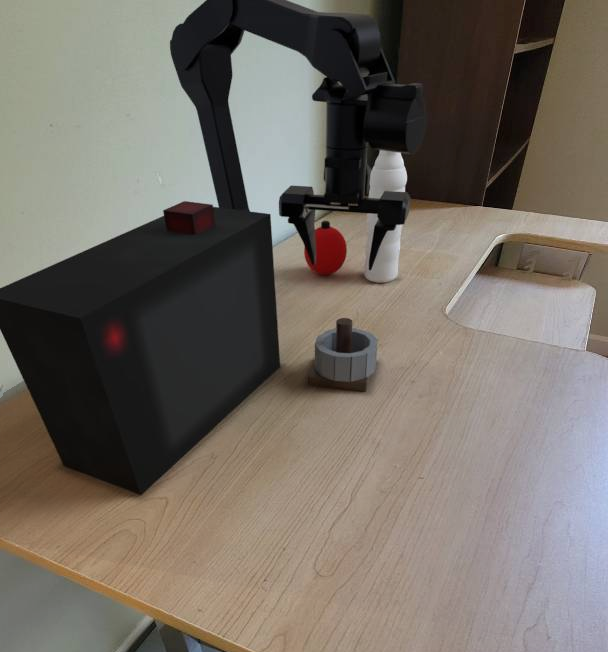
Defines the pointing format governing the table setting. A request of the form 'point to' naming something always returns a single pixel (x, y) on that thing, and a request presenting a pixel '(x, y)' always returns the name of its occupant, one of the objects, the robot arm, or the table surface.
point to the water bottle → (383, 178)
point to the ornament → (328, 250)
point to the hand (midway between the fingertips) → (341, 266)
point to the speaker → (147, 339)
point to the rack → (341, 347)
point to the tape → (346, 356)
